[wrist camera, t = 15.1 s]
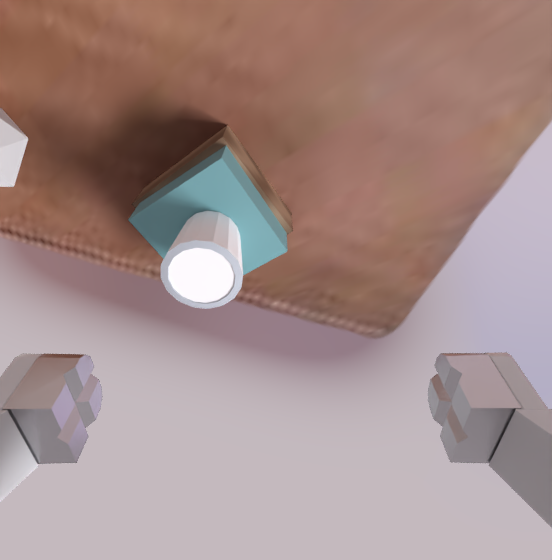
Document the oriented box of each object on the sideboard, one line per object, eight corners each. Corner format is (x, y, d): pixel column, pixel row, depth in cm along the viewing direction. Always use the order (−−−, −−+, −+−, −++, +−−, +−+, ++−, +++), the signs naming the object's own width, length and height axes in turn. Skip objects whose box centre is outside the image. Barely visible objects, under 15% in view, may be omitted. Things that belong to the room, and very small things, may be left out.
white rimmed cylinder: (169, 255, 41) (152, 297, 35) (184, 194, 37) (169, 229, 31) (235, 274, 42) (229, 318, 36) (256, 217, 39) (253, 255, 33)
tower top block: (139, 203, 42) (128, 219, 39) (226, 145, 39) (221, 157, 36) (205, 278, 47) (200, 298, 44) (286, 232, 44) (287, 251, 41)
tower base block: (144, 186, 46) (131, 204, 42) (228, 124, 43) (222, 136, 38) (212, 261, 52) (206, 283, 48) (291, 211, 48) (292, 231, 44)
